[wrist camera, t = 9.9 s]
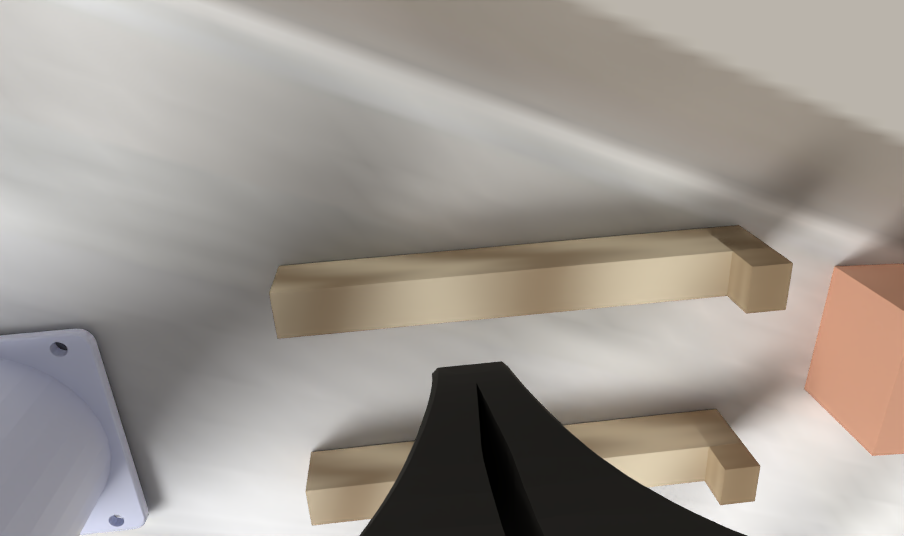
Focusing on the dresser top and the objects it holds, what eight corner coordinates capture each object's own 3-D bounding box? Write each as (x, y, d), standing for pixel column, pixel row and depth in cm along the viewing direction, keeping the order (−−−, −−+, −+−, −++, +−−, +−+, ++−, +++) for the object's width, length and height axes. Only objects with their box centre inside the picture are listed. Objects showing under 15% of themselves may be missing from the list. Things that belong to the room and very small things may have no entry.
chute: (317, 484, 25) (308, 553, 22) (278, 266, 21) (262, 312, 18) (712, 441, 26) (754, 501, 23) (738, 225, 22) (792, 263, 19)
